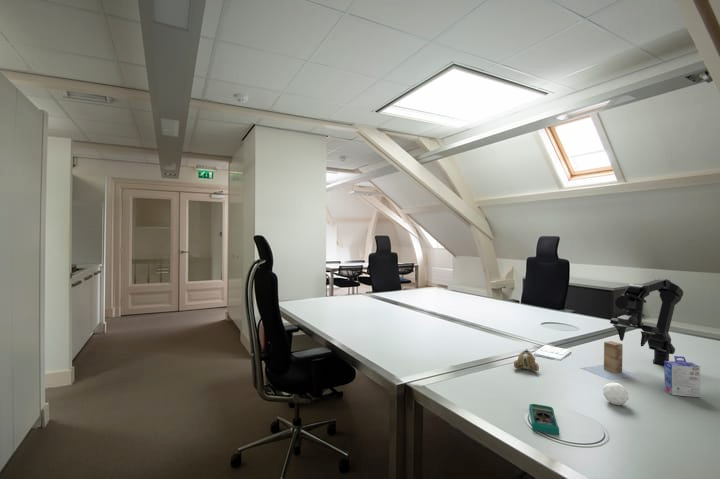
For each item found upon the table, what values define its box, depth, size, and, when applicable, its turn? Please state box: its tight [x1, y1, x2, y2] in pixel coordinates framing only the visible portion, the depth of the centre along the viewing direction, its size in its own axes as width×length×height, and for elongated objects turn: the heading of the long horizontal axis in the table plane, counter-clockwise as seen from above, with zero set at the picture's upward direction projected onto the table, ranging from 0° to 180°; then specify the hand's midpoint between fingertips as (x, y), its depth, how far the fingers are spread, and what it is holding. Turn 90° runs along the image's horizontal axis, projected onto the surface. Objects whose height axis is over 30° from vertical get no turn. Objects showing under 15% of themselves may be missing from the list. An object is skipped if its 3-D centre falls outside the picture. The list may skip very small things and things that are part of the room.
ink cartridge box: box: [663, 355, 701, 398], centre depth 140 cm, size 10×6×14 cm, turn 78°
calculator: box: [532, 344, 572, 361], centre depth 188 cm, size 13×20×2 cm, turn 135°
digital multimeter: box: [528, 403, 560, 436], centre depth 117 cm, size 8×15×3 cm, turn 158°
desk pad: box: [580, 364, 638, 381], centre depth 162 cm, size 18×14×1 cm
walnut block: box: [603, 340, 624, 373], centre depth 163 cm, size 5×5×13 cm
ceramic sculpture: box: [513, 348, 540, 372], centre depth 166 cm, size 11×9×15 cm
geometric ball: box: [602, 382, 630, 406], centre depth 131 cm, size 8×8×8 cm
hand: (631, 343), depth 167 cm, fingers open, 9 cm apart
